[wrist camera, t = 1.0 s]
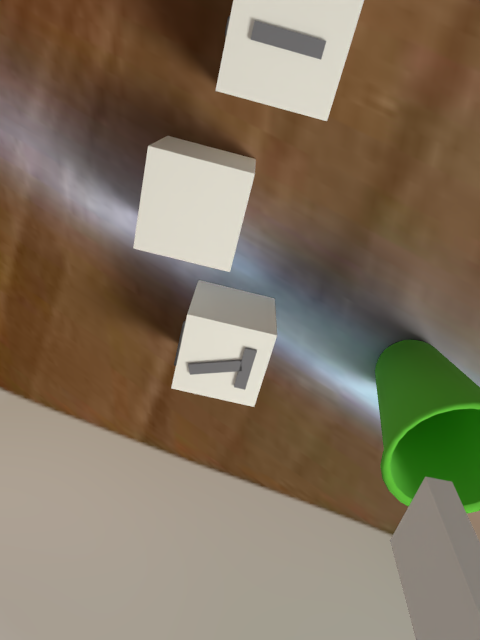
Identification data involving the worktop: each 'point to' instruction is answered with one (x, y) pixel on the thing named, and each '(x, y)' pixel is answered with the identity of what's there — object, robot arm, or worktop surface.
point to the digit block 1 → (288, 52)
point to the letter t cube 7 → (225, 343)
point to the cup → (428, 422)
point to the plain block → (193, 202)
